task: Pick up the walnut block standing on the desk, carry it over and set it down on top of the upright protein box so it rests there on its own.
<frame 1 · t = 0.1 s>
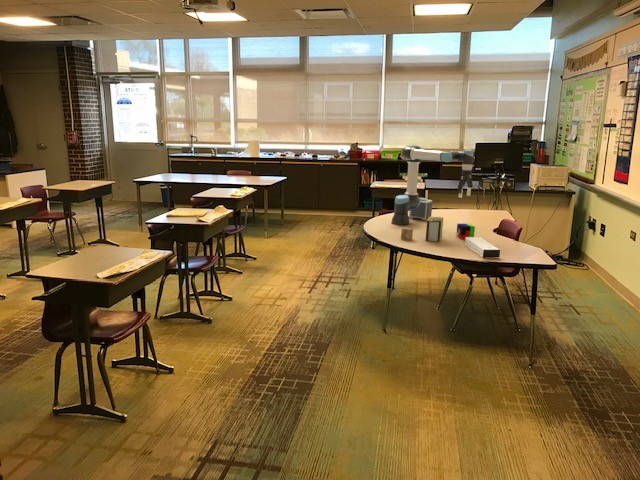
hand: (464, 196, 394), 28 cm above the table, tool pointing down, fingers open, 13 cm apart
walnut block: (406, 238, 371), on the table
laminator: (480, 252, 342), on the table
protein box: (433, 239, 373), on the table
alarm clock: (420, 218, 446), on the table
puzzle toy: (464, 238, 379), on the table
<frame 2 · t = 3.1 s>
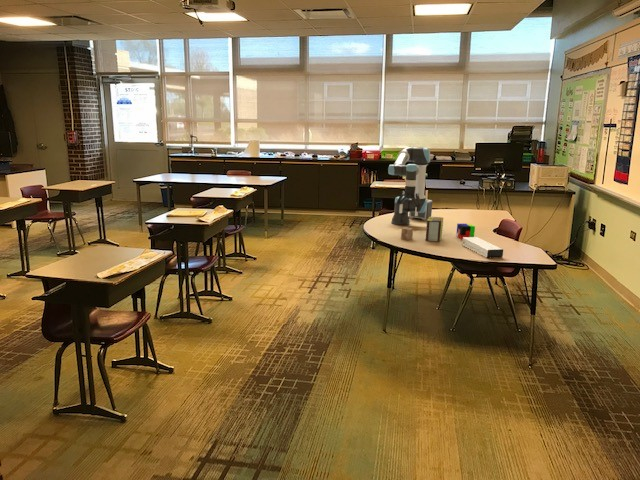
hand: (408, 214, 367), 18 cm above the table, tool pointing down, fingers open, 13 cm apart
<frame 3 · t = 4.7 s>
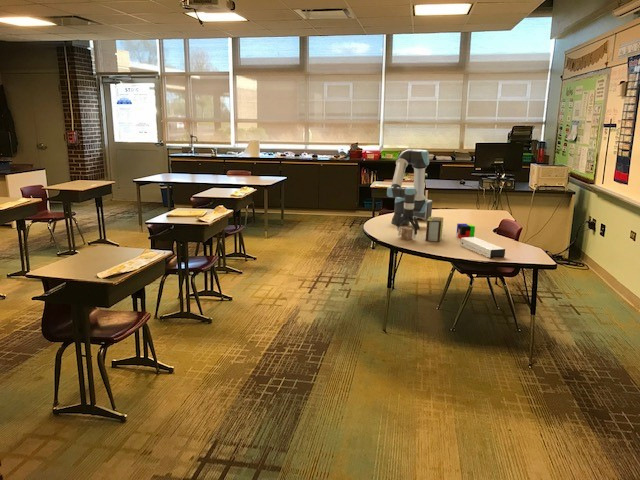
hand: (406, 236, 371), 1 cm above the table, tool pointing down, fingers open, 12 cm apart
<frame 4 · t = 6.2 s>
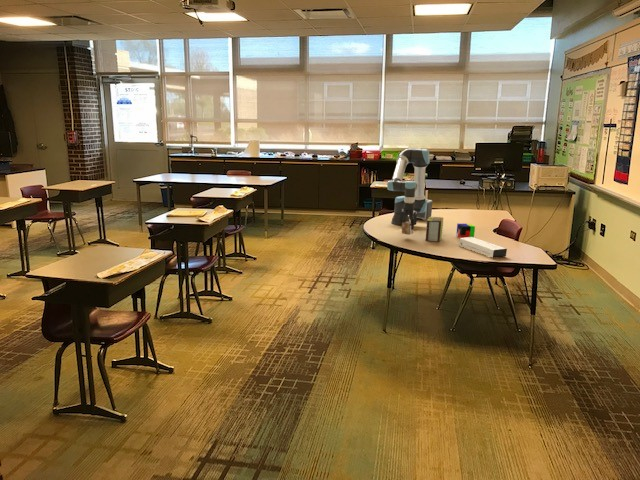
hand: (407, 232, 371), 4 cm above the table, tool pointing down, fingers closed on walnut block, 6 cm apart
walnut block: (407, 233, 371), point 4 cm above the table, touching gripper
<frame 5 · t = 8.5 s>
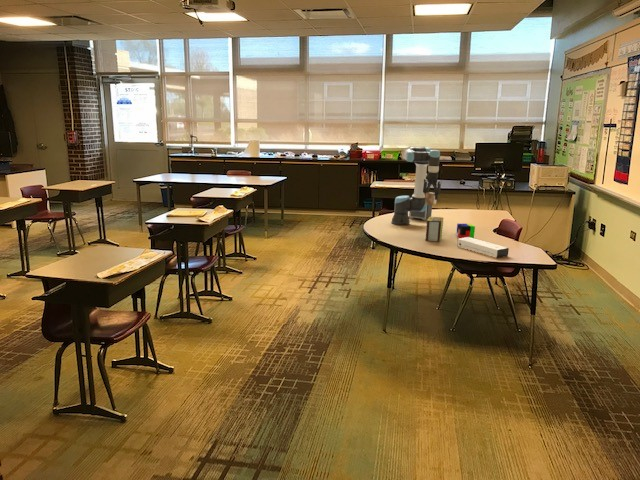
hand: (430, 203, 366), 27 cm above the table, tool pointing down, fingers closed on walnut block, 6 cm apart
walnut block: (430, 203, 366), point 27 cm above the table, touching gripper
when the fingers open (17 cm above the table, at t = 11.0 s): walnut block drops 1 cm, resting on protein box.
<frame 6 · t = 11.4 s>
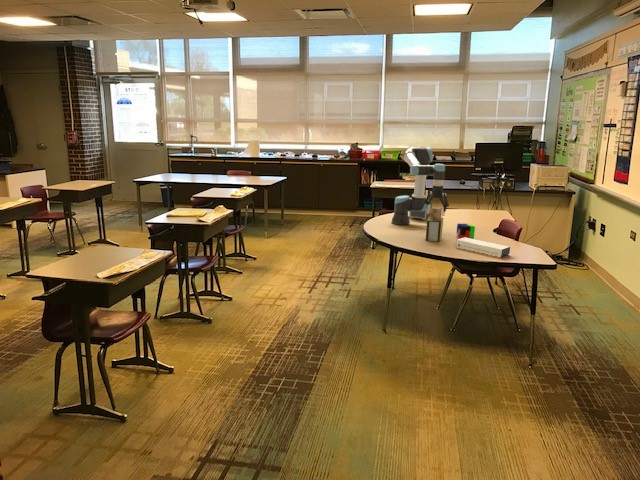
hand: (435, 214, 368), 18 cm above the table, tool pointing down, fingers open, 11 cm apart
walnut block: (435, 218, 369), point 15 cm above the table, touching protein box
protein box: (433, 239, 373), on the table, touching walnut block
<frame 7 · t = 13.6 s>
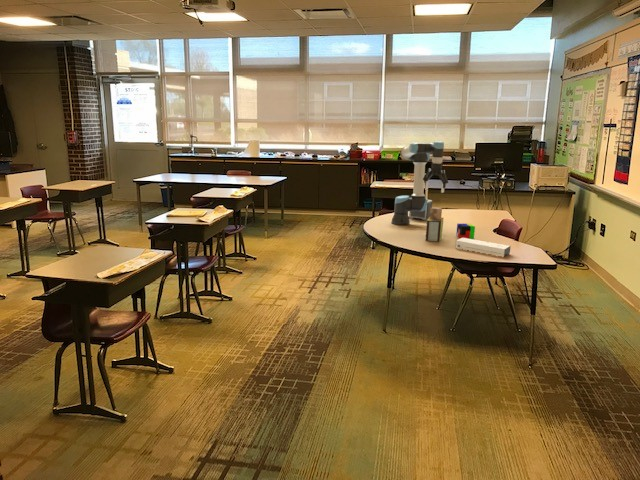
hand: (434, 191, 374), 34 cm above the table, tool pointing down, fingers open, 13 cm apart
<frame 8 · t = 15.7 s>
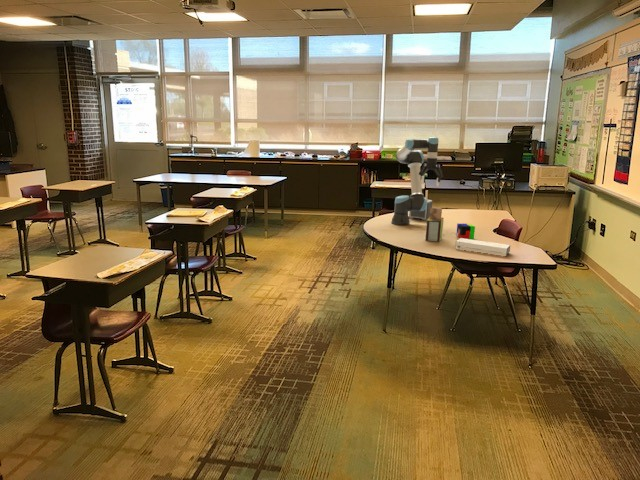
hand: (429, 185, 389), 37 cm above the table, tool pointing down, fingers open, 13 cm apart
at the end: walnut block 0.2 cm from the protein box (horizontally); walnut block point 15.4 cm above the table; protein box tilted 0° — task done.
